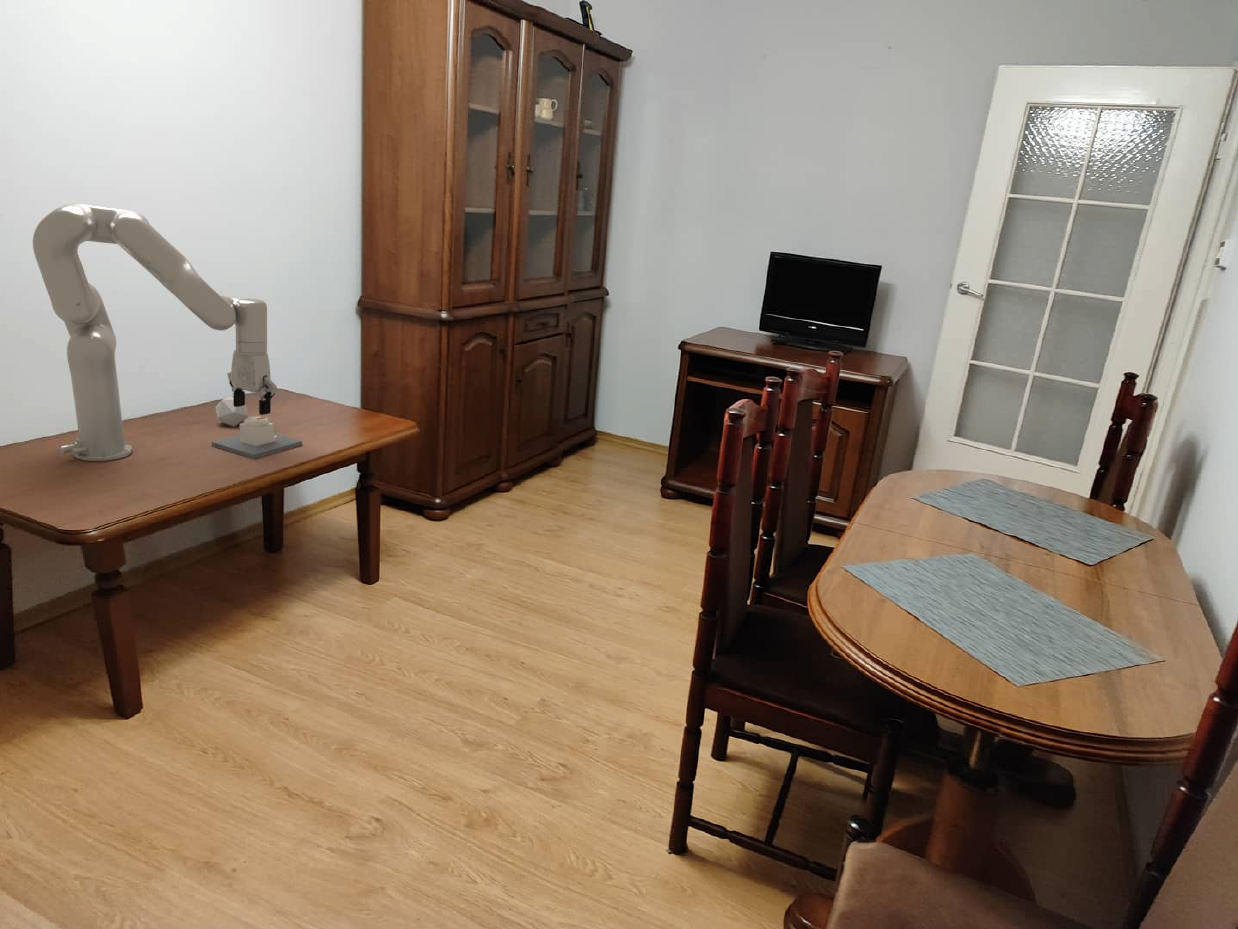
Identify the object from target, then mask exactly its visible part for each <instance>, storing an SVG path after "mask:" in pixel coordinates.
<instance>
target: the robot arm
mask: <svg viewBox="0 0 1238 929" xmlns="http://www.w3.org/2000/svg"><path fill="white" fill-rule="evenodd" d="M84 242H92V243H93V242H94V243H103V244H111V245H119V247H120V248H121V249H123V250H124V251H125V252H126V253H127V254H128V255H129V256H130V257H131V258H133V260H135V261H136V262H138V263H139V265H141V267H143V268H144V269H145V270H146V271H147V272H149V274H150V275H152V276H153V277H154V278H155V279H156V280H157V281H158V282H159V283H160V284H161V285H162V286H163V287H164V288H166V290H168V291H169V292H170V293H171V294H173V296H175V297H176V299H178V300H179V301H180V302H181V304H183V305H184V306H185V307H186V308H187V309H188V310H189V311H191V313H193V314H194V315H195V316H196V317H197V318H198V319H199V320H201V322H203V323H204V324H205V325H206V326H208V327H209V328H211V329H213V330H215V331H226V330H229V329H231V328H232V327H233V326H234V325H235V349H234V351H233V354H232V360H231V371H230V372H228V373H227V379H228V381H229V385H230V387H231V392H233V394H232V397H233V404H234V407H239V406H244V405H246V391H247V392H250V393H257V394H258V396H259V398H260V399H259V400H258V406H259V407H258V414H259V415H260V416H263V415H268V414H271V413H272V412H271V406H272V404H271V402H272V399H273V397H274V396H275V394H276V391H277V389H278V386H277V385H276V383H275V382H273V381H272V380H271V366H270V358H269V355H268V305H267V303H266V302H265V301H263V300H261V299H256V298H236V297H231V296H230V297H229V296H224V295H220V294H219V293H217V291H216V290H214V289H213V288H212V287H211V286H210V285H209V284H208V283H207V282H206V281H205V280H204V279H203V278H202V277H201V276H200V275H199V273H198V272H197V271H196V269H195V268H194V267H193V265H192V263H191V262H190V261H189V260H188V259H187V258H186V257H185V256H184V255H183V254H182V252H180V251H179V250H178V249H176V247H175V246H173V245H172V244H171V243H170V241H168V240H167V239H166V238H165V237H164V236H162V234H161V233H160V232H159V231H157V230H156V228H154V227H153V226H152V225H151V224H150V222H149V220H148V219H147V218H146V217H145V216H144V215H143V214H142V213H140V212H138V211H134V210H130V209H129V210H128V209H120V208H119V209H117V208H108V207H104V206H103V207H102V206H94V205H87V204H82V203H81V204H80V203H79V204H78V203H67V204H63V205H62V206H59V207H57V208H55V209H54V210H53V211H51V212H50V213H48V214H47V215H46V216H45V217H44V218H42V219H41V221H39V223H38V224H37V226H36V227H35V230H34V232H33V237H32V249H33V253H34V257H35V259H36V263H37V265H38V269H39V272H40V274H41V277H42V281H43V283H44V285H45V289H46V291H47V294H48V297H49V299H50V300H49V301H50V302H51V303H50V304H51V306H52V309H53V312H54V313H55V315H56V316H57V317H58V318H59V319H60V320H61V321H63V322H64V325H65V328H66V330H67V332H68V335H69V339H68V342H67V347H66V357H67V358H66V359H67V363H68V368H69V373H70V377H71V378H70V379H71V387H72V393H73V394H72V395H73V400H74V408H75V415H76V422H77V423H76V424H77V430H78V437H76V438H74V442H72V443H71V444H66V445H61V446H59V447H58V451H59V453H60V454H61V455H64V454H68V453H71V454H72V455H73V457H74V458H76V459H78V460H81V461H88V462H106V461H114V460H118V459H122V458H125V457H129V456H130V455H131V454H132V453H133V447H132V446H131V444H128V443H126V442H125V437H124V428H123V426H124V425H123V420H122V419H123V417H122V409H121V399H120V398H121V397H120V392H119V390H120V389H119V381H118V374H117V365H116V348H117V338H116V334H115V332H114V329H113V326H112V324H111V321H110V320H111V319H110V318H109V315H108V312H107V310H106V307H105V304H104V301H103V299H102V296H101V294H100V292H99V290H98V289H97V288H96V287H95V286H94V285H92V284H91V283H90V282H89V281H88V277H87V275H86V273H85V270H84V266H83V263H82V261H81V259H80V257H79V256H80V255H79V252H78V251H79V246H80V245H81V244H83V243H84Z"/></svg>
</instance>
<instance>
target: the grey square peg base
mask: <svg viewBox="0 0 1238 929" xmlns="http://www.w3.org/2000/svg"><path fill="white" fill-rule="evenodd" d="M300 446H303V441H302V440H299V439H295V438H293V437H288V436H285V435H282V434H280V433H279V434H278V433H275V432H274V442H270V443H267V444H263V445H259V446H254V445H250V444H247V443H244V442H241V439H240V434H237V435H233V436H229V437H226V438H221V439H217V440H214V441H211V447H213V448H217V449H221V450H222V451H227V452H230V453H232V454H237V455H239V456H243V457H247V458H249V459H253V460H255V459H258V458H263V457H266V456H269V455H272V454H276V453H281V452H283V451H287V450H290V449H294V448H298V447H300Z"/></svg>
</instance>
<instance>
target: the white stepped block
mask: <svg viewBox="0 0 1238 929" xmlns="http://www.w3.org/2000/svg"><path fill="white" fill-rule="evenodd" d="M269 420H270V418H268V417H266V416H250V417H249V416H248V417H246V418H245V419H244V420H243V422H241V423H239V435H240V439H241V442H244V443H247V444H250V445H254V446H259V445H263V444H267V443H270V442H274V433H275V425H274V423H272V422H270V421H269Z"/></svg>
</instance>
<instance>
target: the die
mask: <svg viewBox="0 0 1238 929" xmlns="http://www.w3.org/2000/svg"><path fill="white" fill-rule="evenodd" d="M215 411H216V417H217V419H218V420H219V421H220V422H221V423H222V424H224V425H228V426H230V427H236V426H238V425H240V424H241V423H243V422H244V419H246V418H248V417H249V412H248V408H247V405H246V404H245V405H244V406H239V407H234V404H233V395H229V396H228V397H225V398H223V399H221V401H219V403H217V405H216V406H215Z"/></svg>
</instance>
